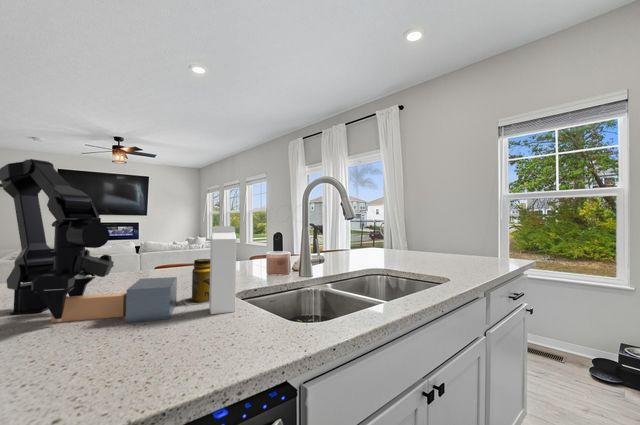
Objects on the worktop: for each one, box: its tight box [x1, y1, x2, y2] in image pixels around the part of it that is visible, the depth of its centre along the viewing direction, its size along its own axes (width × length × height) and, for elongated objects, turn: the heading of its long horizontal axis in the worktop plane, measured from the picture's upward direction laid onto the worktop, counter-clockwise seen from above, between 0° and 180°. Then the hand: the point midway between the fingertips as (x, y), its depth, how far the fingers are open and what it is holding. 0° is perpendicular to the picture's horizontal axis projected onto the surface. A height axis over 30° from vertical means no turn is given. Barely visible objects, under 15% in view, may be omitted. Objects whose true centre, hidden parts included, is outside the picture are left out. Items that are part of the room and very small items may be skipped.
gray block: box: [125, 276, 178, 324], centre depth 77 cm, size 10×14×8 cm
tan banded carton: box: [51, 292, 127, 323], centre depth 73 cm, size 14×3×5 cm, turn 110°
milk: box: [208, 225, 237, 315], centre depth 80 cm, size 6×6×22 cm
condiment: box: [181, 258, 210, 306], centre depth 89 cm, size 7×8×12 cm
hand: (67, 312), depth 71 cm, fingers open, 9 cm apart
